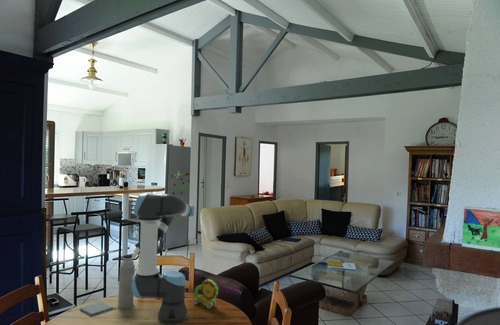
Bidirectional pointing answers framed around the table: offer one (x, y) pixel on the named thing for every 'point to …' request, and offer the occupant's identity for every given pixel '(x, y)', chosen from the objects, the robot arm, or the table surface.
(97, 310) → the gray square plate
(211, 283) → the toy lion
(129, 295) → the thermos bottle
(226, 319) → the table surface
